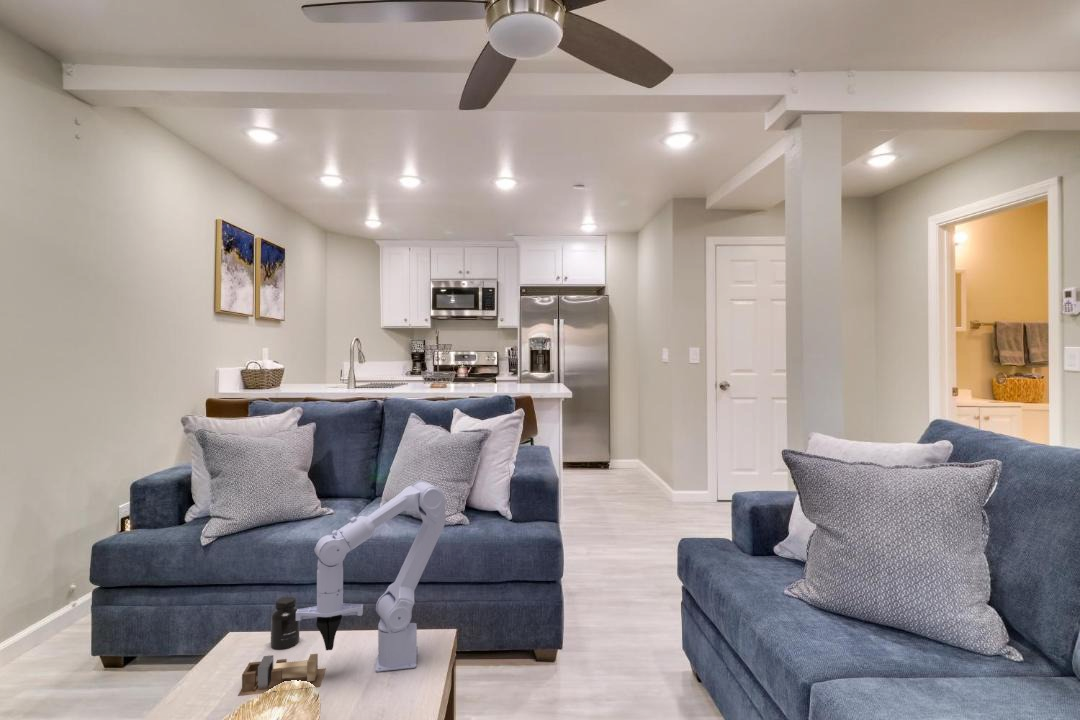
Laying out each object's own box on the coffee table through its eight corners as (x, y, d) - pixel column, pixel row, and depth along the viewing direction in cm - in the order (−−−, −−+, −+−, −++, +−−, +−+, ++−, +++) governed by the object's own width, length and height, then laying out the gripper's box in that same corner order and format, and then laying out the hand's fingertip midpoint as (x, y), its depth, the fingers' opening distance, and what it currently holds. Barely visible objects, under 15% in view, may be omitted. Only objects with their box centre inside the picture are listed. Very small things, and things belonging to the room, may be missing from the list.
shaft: (317, 672, 131) (317, 653, 132) (314, 680, 128) (314, 661, 128) (276, 676, 130) (276, 657, 130) (272, 685, 126) (272, 665, 126)
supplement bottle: (288, 654, 142) (288, 606, 142) (264, 651, 143) (264, 604, 144) (305, 641, 149) (305, 595, 149) (282, 639, 150) (282, 593, 150)
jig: (326, 671, 134) (326, 652, 134) (319, 690, 126) (319, 669, 126) (248, 679, 131) (248, 659, 131) (237, 699, 123) (237, 678, 123)
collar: (273, 676, 130) (273, 655, 130) (267, 689, 125) (267, 666, 125) (264, 677, 130) (264, 656, 130) (257, 690, 125) (257, 667, 125)
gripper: (364, 580, 136) (364, 637, 136) (300, 584, 133) (300, 642, 133) (361, 591, 129) (360, 651, 129) (293, 596, 126) (293, 657, 126)
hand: (329, 648), depth 130 cm, fingers closed
